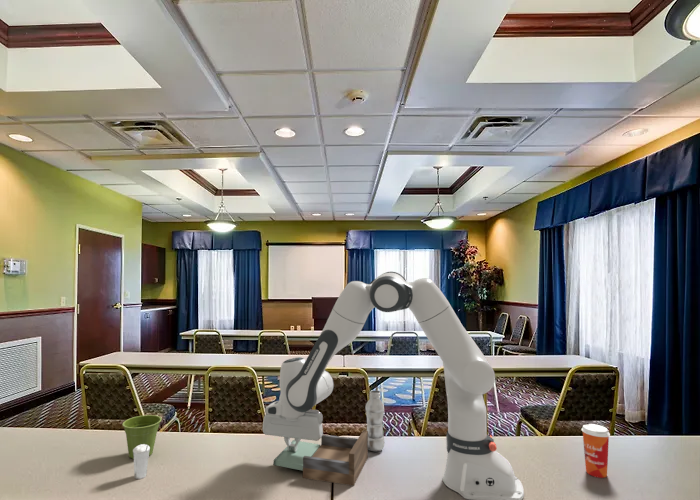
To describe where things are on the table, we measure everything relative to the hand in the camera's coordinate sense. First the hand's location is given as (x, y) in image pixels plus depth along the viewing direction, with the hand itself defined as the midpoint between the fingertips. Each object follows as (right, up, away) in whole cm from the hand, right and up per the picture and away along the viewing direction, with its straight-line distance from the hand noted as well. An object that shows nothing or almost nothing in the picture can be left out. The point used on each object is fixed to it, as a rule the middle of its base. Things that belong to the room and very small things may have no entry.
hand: (292, 450), depth 133 cm
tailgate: (+7, 0, -2) cm, 7 cm away
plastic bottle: (+28, -4, +9) cm, 29 cm away
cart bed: (+15, -3, -4) cm, 16 cm away
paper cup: (+96, -4, -7) cm, 96 cm away
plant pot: (-52, -4, +4) cm, 52 cm away
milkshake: (-44, -3, -11) cm, 45 cm away
